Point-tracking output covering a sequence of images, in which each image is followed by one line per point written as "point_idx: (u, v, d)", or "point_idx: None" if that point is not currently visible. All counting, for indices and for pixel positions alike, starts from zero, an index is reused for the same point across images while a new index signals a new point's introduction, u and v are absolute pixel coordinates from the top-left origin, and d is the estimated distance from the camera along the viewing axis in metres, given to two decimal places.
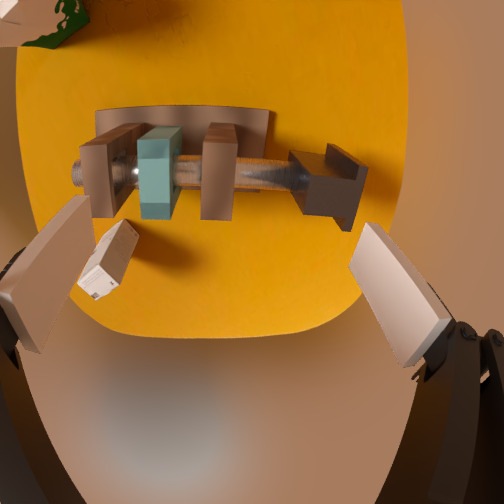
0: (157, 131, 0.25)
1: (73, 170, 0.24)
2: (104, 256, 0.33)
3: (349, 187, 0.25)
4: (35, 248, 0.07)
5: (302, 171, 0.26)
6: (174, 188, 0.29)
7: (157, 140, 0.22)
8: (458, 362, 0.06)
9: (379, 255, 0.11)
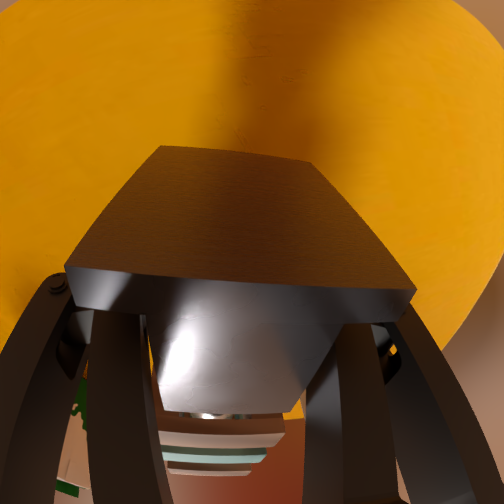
0: None
1: None
2: None
3: (186, 334, 0.05)
4: None
5: None
6: None
7: None
8: (339, 332, 0.07)
9: None
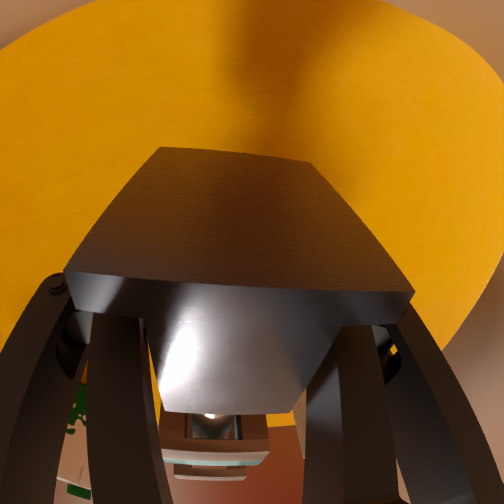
0: None
1: None
2: (301, 445, 0.29)
3: (184, 337, 0.05)
4: None
5: None
6: None
7: None
8: (340, 332, 0.07)
9: None
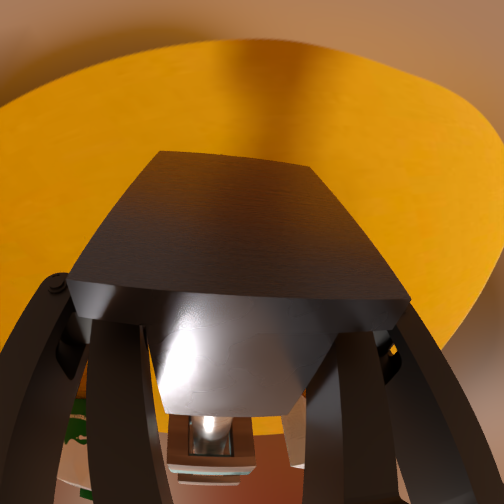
0: None
1: None
2: (289, 455, 0.33)
3: (184, 343, 0.05)
4: None
5: None
6: None
7: (170, 469, 0.20)
8: None
9: None
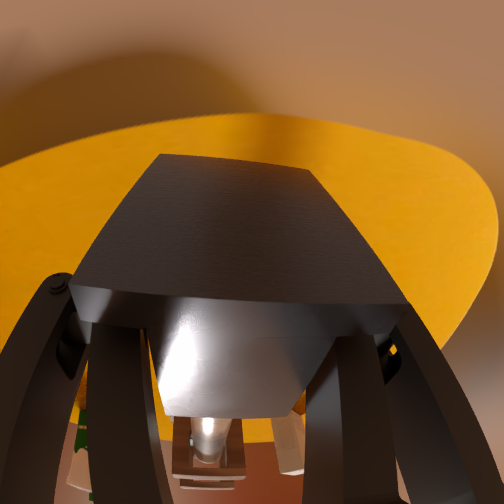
0: None
1: (201, 461, 0.24)
2: (279, 463, 0.35)
3: (185, 347, 0.06)
4: None
5: None
6: None
7: None
8: None
9: None
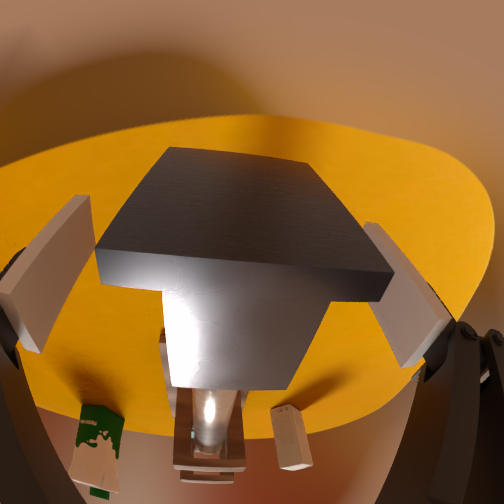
0: None
1: (202, 452, 0.25)
2: (279, 458, 0.36)
3: (196, 308, 0.06)
4: (35, 248, 0.07)
5: None
6: None
7: None
8: (458, 362, 0.06)
9: None
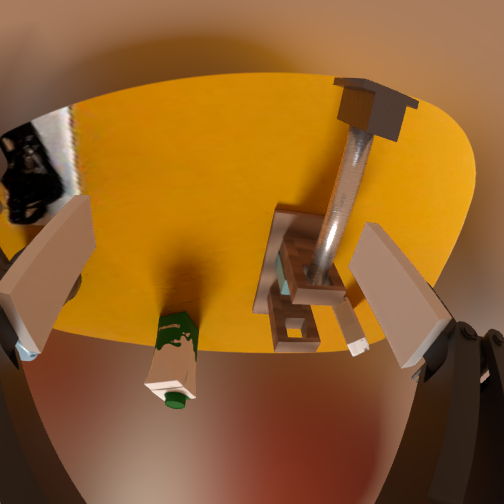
0: (278, 273, 0.49)
1: None
2: (345, 337, 0.53)
3: (381, 98, 0.23)
4: (35, 248, 0.07)
5: None
6: None
7: (284, 285, 0.45)
8: (458, 362, 0.06)
9: (379, 255, 0.11)
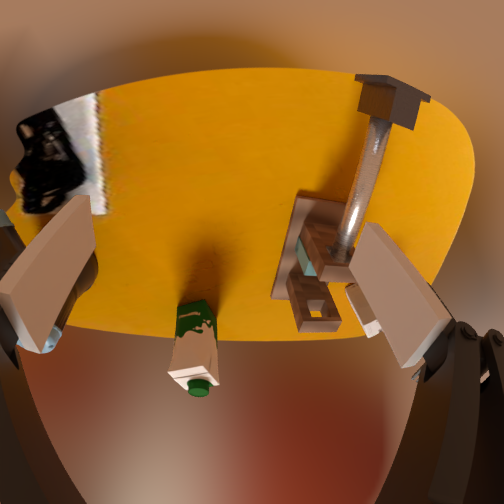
0: (300, 256, 0.51)
1: None
2: (361, 318, 0.55)
3: (401, 93, 0.25)
4: (35, 248, 0.07)
5: None
6: None
7: (307, 266, 0.47)
8: (458, 362, 0.06)
9: (379, 255, 0.11)
